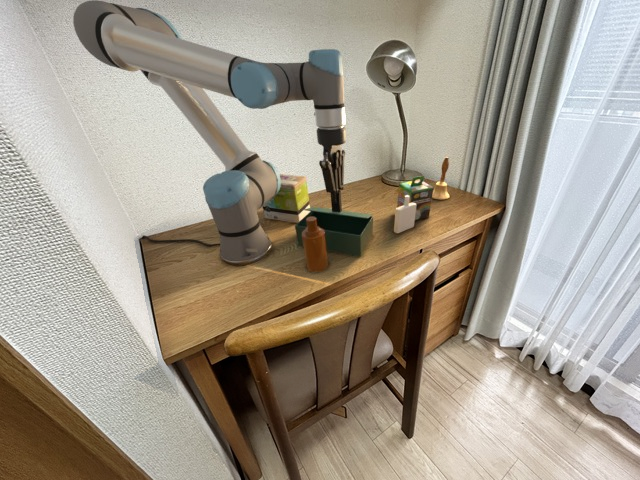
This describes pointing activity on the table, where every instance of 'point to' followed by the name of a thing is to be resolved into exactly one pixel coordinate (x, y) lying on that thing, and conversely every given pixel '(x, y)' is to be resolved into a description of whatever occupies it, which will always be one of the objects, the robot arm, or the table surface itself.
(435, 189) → the hand bell
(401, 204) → the chalk box
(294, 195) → the tea box
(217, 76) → the robot arm
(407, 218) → the perfume bottle
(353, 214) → the flap
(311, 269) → the amber bottle
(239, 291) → the table surface
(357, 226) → the carton
